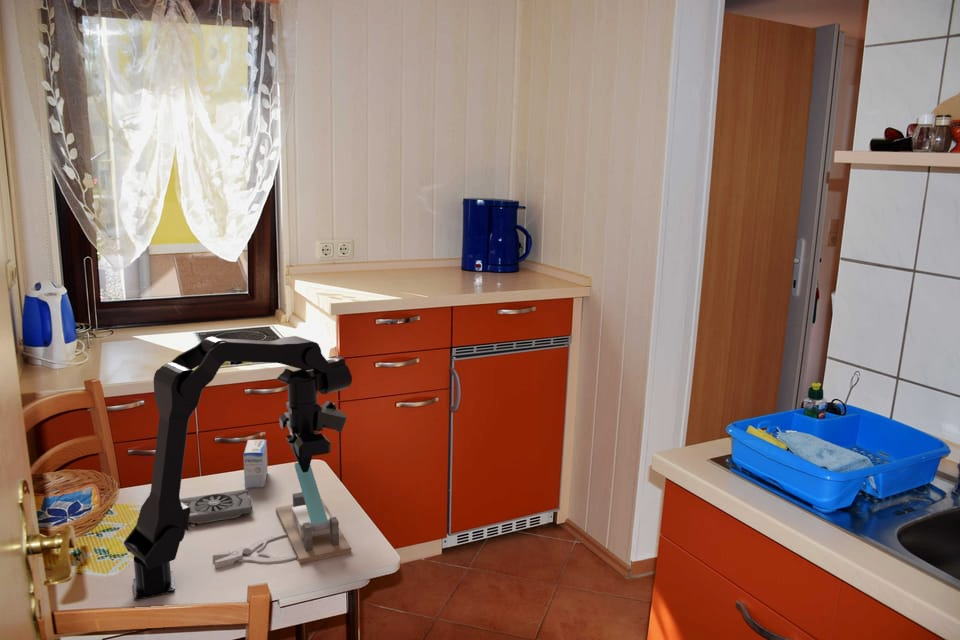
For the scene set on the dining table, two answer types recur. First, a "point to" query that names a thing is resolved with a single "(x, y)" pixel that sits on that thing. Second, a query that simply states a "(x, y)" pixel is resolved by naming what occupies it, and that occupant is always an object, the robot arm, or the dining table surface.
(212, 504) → the graphics card
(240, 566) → the dining table surface
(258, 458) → the medicine box
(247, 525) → the dining table surface
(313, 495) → the lever
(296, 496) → the block
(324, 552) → the board
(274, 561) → the pliers
